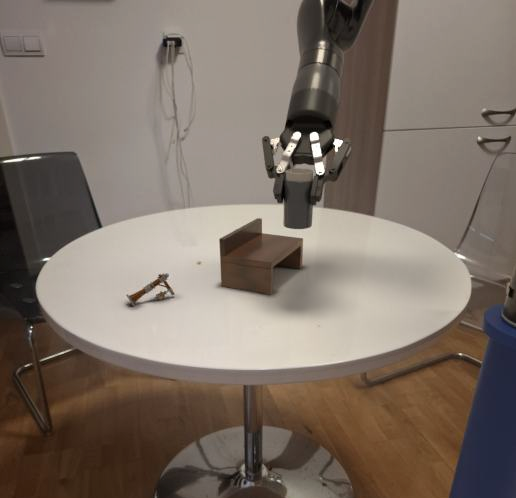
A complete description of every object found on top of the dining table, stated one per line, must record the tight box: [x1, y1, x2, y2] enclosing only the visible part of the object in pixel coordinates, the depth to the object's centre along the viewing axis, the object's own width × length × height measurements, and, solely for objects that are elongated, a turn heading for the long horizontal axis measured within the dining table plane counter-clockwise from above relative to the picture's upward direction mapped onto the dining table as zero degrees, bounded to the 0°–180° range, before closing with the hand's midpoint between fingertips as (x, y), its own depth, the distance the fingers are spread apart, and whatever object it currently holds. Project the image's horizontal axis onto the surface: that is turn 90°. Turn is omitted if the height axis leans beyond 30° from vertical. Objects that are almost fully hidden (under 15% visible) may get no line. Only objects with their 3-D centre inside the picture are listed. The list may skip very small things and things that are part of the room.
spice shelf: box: [218, 217, 304, 296], centre depth 94 cm, size 10×16×9 cm, turn 155°
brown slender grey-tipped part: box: [125, 272, 175, 307], centre depth 85 cm, size 2×8×4 cm, turn 117°
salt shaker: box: [282, 168, 314, 230], centre depth 73 cm, size 4×4×8 cm
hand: (296, 200), depth 72 cm, fingers closed on salt shaker, 4 cm apart
